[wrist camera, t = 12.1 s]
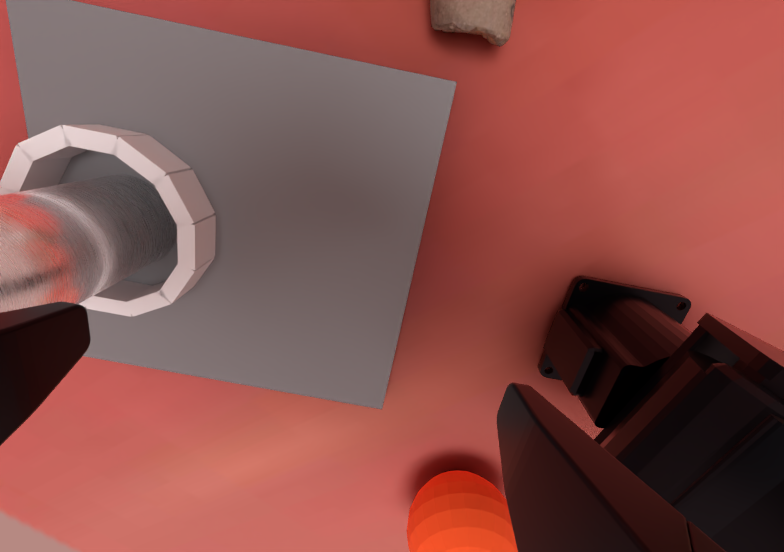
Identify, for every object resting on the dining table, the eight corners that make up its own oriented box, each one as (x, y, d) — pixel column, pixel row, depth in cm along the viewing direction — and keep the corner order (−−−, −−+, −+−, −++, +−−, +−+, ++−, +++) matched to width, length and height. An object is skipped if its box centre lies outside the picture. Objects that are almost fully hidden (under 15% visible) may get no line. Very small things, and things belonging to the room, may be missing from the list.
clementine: (408, 526, 29) (408, 644, 22) (380, 460, 27) (370, 572, 20) (513, 507, 28) (545, 627, 21) (493, 437, 25) (523, 548, 19)
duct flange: (452, 85, 18) (463, 76, 14) (383, 393, 24) (379, 434, 21) (36, -3, 17) (-52, -33, 14) (83, 339, 24) (32, 373, 20)
